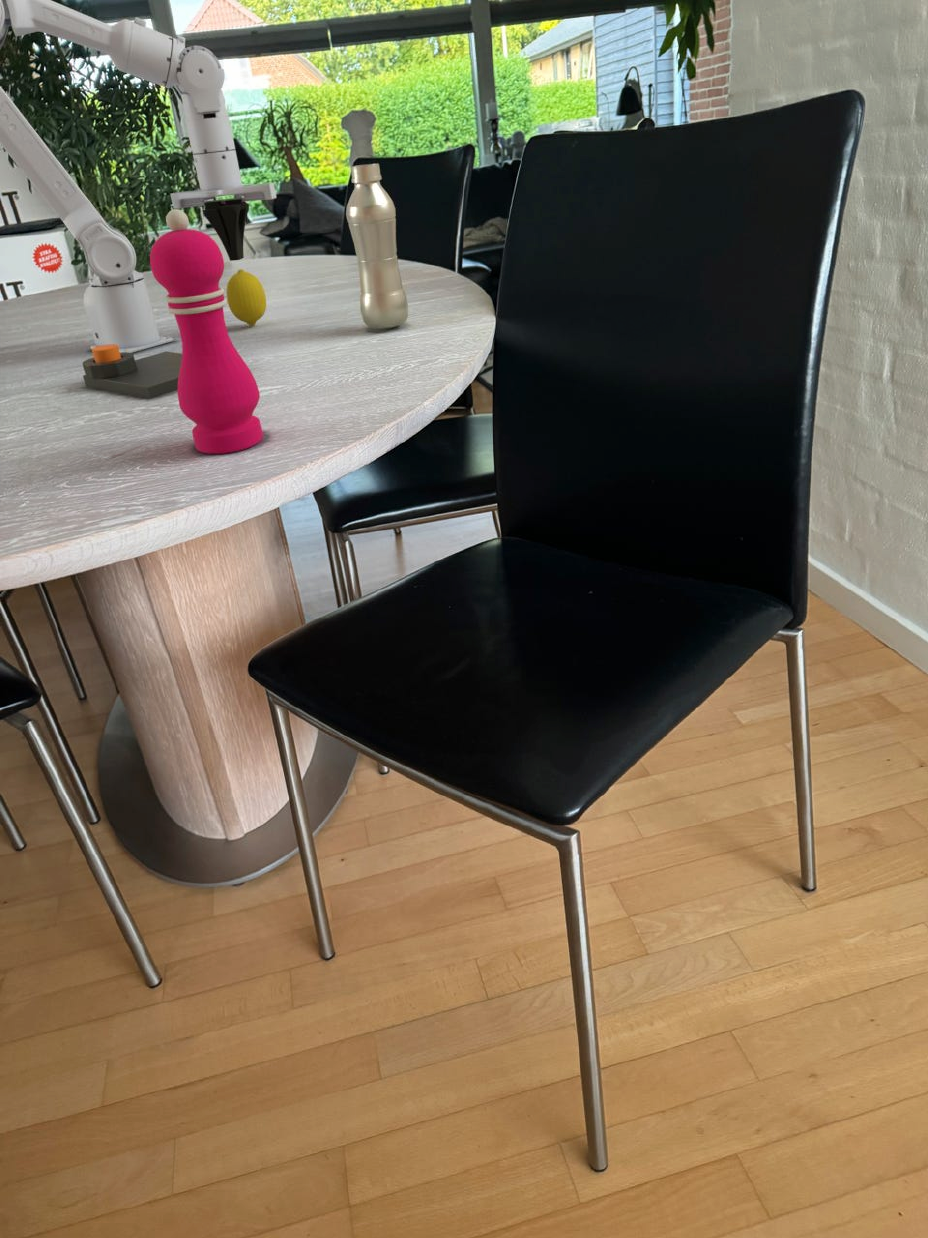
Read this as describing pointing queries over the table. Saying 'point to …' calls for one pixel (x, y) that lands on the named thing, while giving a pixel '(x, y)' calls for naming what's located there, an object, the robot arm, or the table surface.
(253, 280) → the lemon
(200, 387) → the pepper mill
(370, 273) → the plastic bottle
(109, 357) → the button
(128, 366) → the grey peg base
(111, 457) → the table surface
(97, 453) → the table surface
